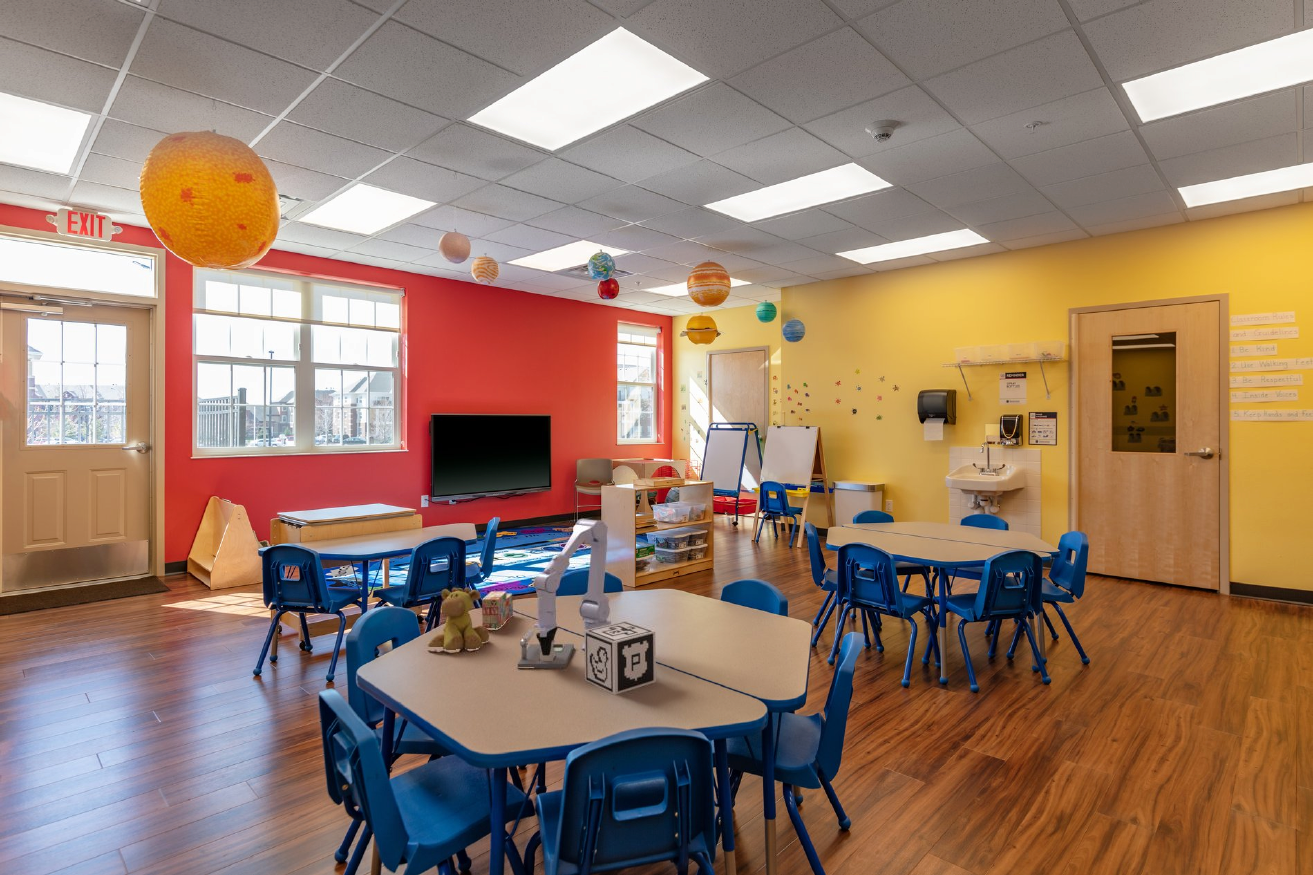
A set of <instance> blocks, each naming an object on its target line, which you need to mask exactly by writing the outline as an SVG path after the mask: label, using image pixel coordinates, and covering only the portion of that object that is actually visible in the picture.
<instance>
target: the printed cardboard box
mask: <svg viewBox="0 0 1313 875" xmlns="http://www.w3.org/2000/svg"><path fill="white" fill-rule="evenodd" d="M481 603H482V604H481V607H482V608H481V610H482V613H481V614H482V615H481V616H482V617H481V618H482V625H481V626H484V627H486V628H495V629H496V628H499V627H501V625H503V624H504V622H505V621H506V620H507V619H508V618H510V617H511V616H512V615H513V616H514V609H513V608H514V603H513V593H507V591H503V590H502V591H497V590H496V591H490V592H489V593H488V594H487V595H486V596H484V597H483V598H482V599H481ZM513 616H512V617H513ZM512 617H511V618H512ZM511 618H510V619H511Z"/></svg>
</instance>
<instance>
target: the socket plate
mask: <svg viewBox="0 0 1313 875" xmlns="http://www.w3.org/2000/svg"><path fill="white" fill-rule="evenodd" d="M562 644H563V648H555V657H554V661H540V643H535V644H534V643H532V644H531V643H530V644H529V646H528V645H526V646H521V645H520V647H521V658H520V659H519V661H518V663H517V668H518V667H534V668H546V669H548V670H550V669H556V670H557V669H559V670H561V669H566V668H567V666H568V663H569V661H570V658H571V656H572V654H573V652H574V648H575V644H574V643H562ZM527 646H528V647H527Z"/></svg>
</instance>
